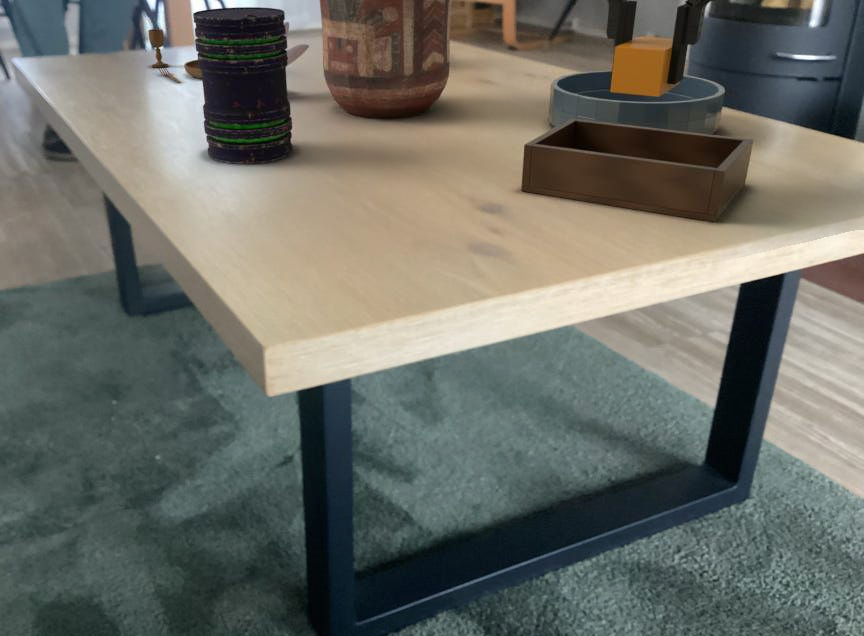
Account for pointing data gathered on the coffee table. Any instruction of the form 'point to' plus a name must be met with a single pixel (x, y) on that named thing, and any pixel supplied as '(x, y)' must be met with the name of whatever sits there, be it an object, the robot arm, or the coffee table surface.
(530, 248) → the coffee table surface
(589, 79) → the bowl
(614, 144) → the box
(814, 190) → the coffee table surface
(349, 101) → the pottery
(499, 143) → the coffee table surface
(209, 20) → the storage jar
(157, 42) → the place setting
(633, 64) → the block
